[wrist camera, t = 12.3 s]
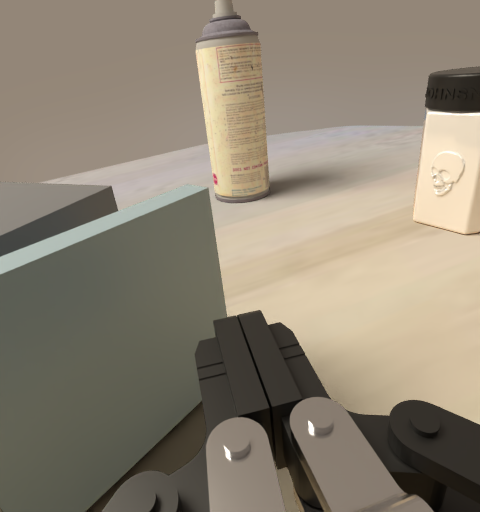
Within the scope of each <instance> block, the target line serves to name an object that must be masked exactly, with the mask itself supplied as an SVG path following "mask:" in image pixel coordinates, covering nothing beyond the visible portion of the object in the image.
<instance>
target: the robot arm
mask: <svg viewBox="0 0 480 512" xmlns="http://www.w3.org/2000/svg"><path fill="white" fill-rule="evenodd" d="M213 325H214V331H215V337H214V338H209V339H205V340H201V341H199V343H198V346H197V349H196V351H195V360H196V366H197V373H198V379H199V385H200V391H201V397H202V404H203V410H204V416H205V422H206V438H205V441H204V444H203V446H202V448H201V449H200V451H199V452H198V454H197V455H196V456H195V457H194V458H193V459H192V460H191V461H190V462H188V463H187V464H186V465H184V466H183V467H181V468H180V469H178V470H177V471H175V472H173V473H172V474H170V475H169V476H168V475H167V474H165V473H163V472H160V471H154V470H153V471H145V472H141V473H138V474H136V475H134V476H132V477H131V478H129V479H128V480H127V481H125V482H124V483H123V484H122V485H121V486H120V487H119V488H118V490H117V491H116V492H115V493H114V495H113V496H112V498H111V499H110V500H109V502H108V503H107V505H106V506H105V507H104V509H103V510H102V512H286V511H285V506H284V502H283V498H282V494H281V490H280V486H279V481H278V477H277V473H276V469H275V463H276V466H277V469H281V468H285V467H288V470H289V473H290V475H291V478H292V481H293V490H294V497H295V500H296V503H297V505H298V508H299V510H300V512H480V425H479V424H477V423H475V422H472V421H470V420H468V419H465V418H463V417H461V416H458V415H456V414H454V413H452V412H449V411H447V410H445V409H442V408H440V407H438V406H435V405H433V404H430V403H428V402H424V401H419V400H408V401H403V402H400V403H399V404H397V405H396V406H395V407H394V408H393V409H392V411H391V413H390V416H383V415H362V414H356V413H352V412H350V411H347V410H345V409H344V408H343V407H342V406H341V405H340V404H338V403H337V402H335V401H333V400H331V398H330V397H329V396H328V394H327V392H326V391H325V389H324V387H323V385H322V383H321V382H320V380H319V378H318V376H317V375H316V373H315V371H314V369H313V367H312V366H311V364H310V362H309V360H308V358H307V357H306V356H305V353H304V351H303V349H302V348H301V346H300V345H299V342H298V340H297V339H296V337H295V335H294V333H293V331H291V330H290V329H289V328H287V327H286V326H285V325H283V324H282V323H280V322H279V323H275V324H270V325H267V322H266V320H265V318H264V316H263V314H262V312H261V311H260V310H258V311H253V312H248V313H244V314H239V315H237V317H236V315H235V316H231V317H226V318H222V319H217V320H213ZM274 460H275V463H274Z"/></svg>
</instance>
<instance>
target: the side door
mask: <svg viewBox="0 0 480 512" xmlns="http://www.w3.org/2000/svg"><path fill="white" fill-rule="evenodd" d="M226 317H227V313H226V306H225V299H224V292H223V285H222V278H221V271H220V264H219V258H218V251H217V244H216V237H215V230H214V223H213V216H212V209H211V203H210V196H209V189H208V188H207V187H201V186H195V185H189V184H187V185H184V186H182V187H179V188H176V189H174V190H171V191H169V192H166V193H164V194H161V195H158V196H156V197H153V198H151V199H148V200H146V201H143V202H140V203H138V204H135V205H133V206H130V207H127V208H125V209H122V210H120V211H117V212H115V213H112V214H109V215H107V216H104V217H102V218H99V219H96V220H94V221H91V222H89V223H86V224H84V225H81V226H78V227H76V228H73V229H71V230H68V231H66V232H63V233H60V234H58V235H55V236H53V237H50V238H47V239H45V240H42V241H40V242H37V243H35V244H32V245H29V246H27V247H24V248H22V249H19V250H17V251H14V252H11V253H9V254H6V255H4V256H1V257H0V508H1V509H2V511H3V512H86V511H87V510H88V509H89V508H90V507H91V506H92V505H93V504H94V503H95V502H96V501H97V500H98V499H99V498H100V497H101V496H102V495H103V494H104V493H106V492H107V491H108V490H109V489H110V488H111V487H112V486H113V485H114V484H115V483H116V482H117V481H118V480H119V479H120V478H121V477H122V476H123V475H124V474H125V473H127V472H128V471H129V470H130V469H131V468H132V467H133V466H134V465H135V464H136V463H137V462H138V461H139V460H140V459H141V458H142V457H143V456H144V455H145V454H146V453H147V452H149V451H150V450H151V449H152V448H153V447H154V446H155V445H156V444H157V443H158V442H159V441H160V440H161V439H162V438H163V437H164V436H165V435H166V434H167V433H168V432H170V431H171V430H172V429H173V428H174V427H175V426H176V425H177V424H178V423H179V422H180V421H181V420H182V419H183V418H184V417H185V416H186V415H187V414H188V413H189V412H190V411H192V410H193V409H194V408H195V407H196V406H197V405H198V404H199V403H200V402H201V401H202V397H201V391H200V385H199V379H198V373H197V366H196V360H195V351H196V349H197V346H198V343H199V341H201V340H205V339H209V338H214V337H215V331H214V325H213V320H217V319H222V318H226Z"/></svg>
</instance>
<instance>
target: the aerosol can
mask: <svg viewBox="0 0 480 512" xmlns="http://www.w3.org/2000/svg"><path fill="white" fill-rule="evenodd" d="M257 36H258V32H254V31H252V30H251V29H250V27H249V25H248V23H247V22H246V21H244V20H241V16H239V15H237V13H236V12H233V5H232V0H217V1H215V14H213V18H212V19H210V23H209V24H207V25H206V26H205V27H204V29H203V33H202V36H201V37H200V38H198V39H196V43H197V46H196V58H197V65H198V72H199V80H200V87H201V94H202V101H203V109H204V116H205V122H206V130H207V137H208V145H209V152H210V160H211V167H212V174H213V181H214V189H215V192H216V193H215V196H216V198H217V199H218V200H220V201H222V202H228V203H242V202H250V201H255V200H258V199H261V198H263V197H265V196H267V195H268V194H269V193H270V187H269V171H268V156H267V140H266V125H265V110H264V95H263V79H262V64H261V49H260V42H259V39H258V37H257Z"/></svg>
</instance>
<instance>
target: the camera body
mask: <svg viewBox="0 0 480 512" xmlns="http://www.w3.org/2000/svg"><path fill="white" fill-rule="evenodd" d="M117 211H118V209H117V205H116V201H115V198H114V194H113V190H112V186H99V185H72V184H44V183H17V182H0V257H1V256H4V255H6V254H9V253H11V252H14V251H17V250H19V249H22V248H24V247H27V246H29V245H32V244H35V243H37V242H40V241H42V240H45V239H47V238H50V237H53V236H55V235H58V234H60V233H63V232H66V231H68V230H71V229H73V228H76V227H78V226H81V225H84V224H86V223H89V222H91V221H94V220H96V219H99V218H102V217H104V216H107V215H109V214H112V213H115V212H117ZM0 512H3V511H2V509H1V508H0Z"/></svg>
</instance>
